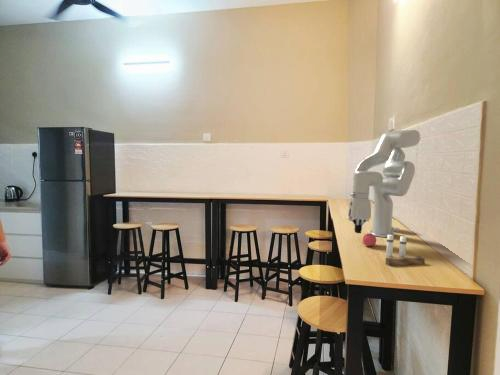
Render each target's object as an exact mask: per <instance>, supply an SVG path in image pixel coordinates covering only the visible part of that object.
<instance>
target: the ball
mask: <svg viewBox="0 0 500 375" xmlns="http://www.w3.org/2000/svg"><path fill="white" fill-rule="evenodd" d="M362 243H363V244H364V245H365V246H367V247H373V246H375V245H376V244H377V236H374V235H373V234H370V233H366V234H364V235H363V238H362Z"/></svg>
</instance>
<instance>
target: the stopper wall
mask: <svg viewBox="0 0 500 375" xmlns="http://www.w3.org/2000/svg"><path fill="white" fill-rule="evenodd" d="M425 262H426V257H424V256H422V255H417V256H413V255H412V256H405V257H399V256H397V257H393V256H392V257H385V265H387V266H390V267H391V266H404V265H406V266H407V265H420V264H421V265H423V264H424V265H425Z"/></svg>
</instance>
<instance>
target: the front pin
mask: <svg viewBox="0 0 500 375" xmlns="http://www.w3.org/2000/svg"><path fill="white" fill-rule="evenodd" d="M394 236H395V234H394V235H387V237H386V248H385V249H386V250H385V251H386V252H385V256H386V257H387V258H390V257H393V251H394V250H393V248H394V239H395V238H394Z"/></svg>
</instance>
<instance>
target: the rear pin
mask: <svg viewBox="0 0 500 375" xmlns="http://www.w3.org/2000/svg"><path fill="white" fill-rule="evenodd" d="M407 238H408V237H407V236H402V235H401V236H400V237H399V246H398V247H399V249H398V257H406V250H407Z"/></svg>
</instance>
